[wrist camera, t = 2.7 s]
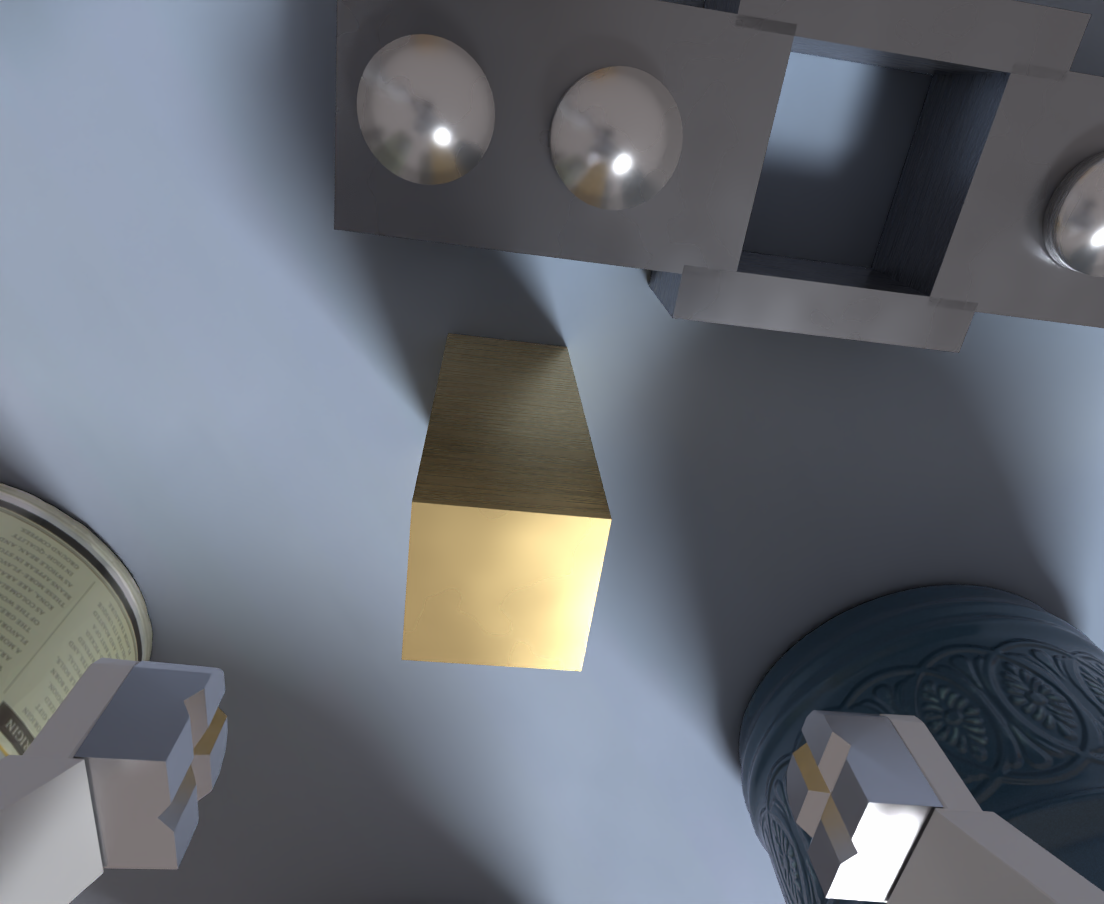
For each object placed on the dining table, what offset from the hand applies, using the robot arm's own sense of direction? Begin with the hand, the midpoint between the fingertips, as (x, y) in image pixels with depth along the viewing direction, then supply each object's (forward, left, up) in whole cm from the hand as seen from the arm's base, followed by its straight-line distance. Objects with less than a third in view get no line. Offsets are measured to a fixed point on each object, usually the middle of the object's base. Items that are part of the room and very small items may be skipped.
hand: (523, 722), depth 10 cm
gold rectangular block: (0, 0, -12) cm, 12 cm away
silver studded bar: (-7, +7, -12) cm, 15 cm away
